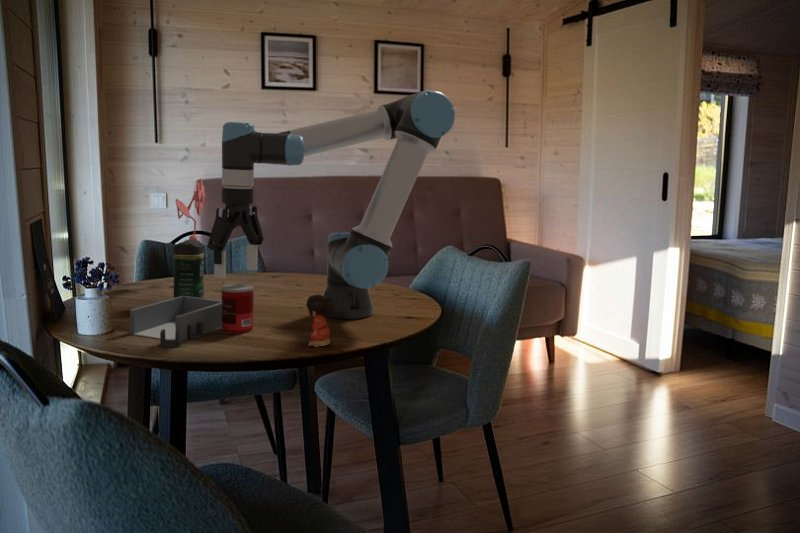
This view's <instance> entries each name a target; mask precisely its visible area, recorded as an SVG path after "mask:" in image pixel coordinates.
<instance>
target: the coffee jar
mask: <svg viewBox="0 0 800 533" xmlns="http://www.w3.org/2000/svg"><path fill="white" fill-rule="evenodd" d="M204 247H205V245H204V243H202V242H201V241H200V240H198V239H197V240H189V239H185V240H184V241H182V242H178V243H177V244H175V245H173V298H176V297H179V296H190V297H198V298H205V286H204V283H205V280H204V277H205V276H204V272H205V271H204V270H205V269H204V267H205V266H204V265H205V264H204V262H205V261H204V258H205V248H204Z"/></svg>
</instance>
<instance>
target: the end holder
mask: <svg viewBox="0 0 800 533" xmlns="http://www.w3.org/2000/svg"><path fill="white" fill-rule="evenodd" d="M197 322H202V323H204V334H206V333H209V332H212V331H215V330H218V329H220V328H222V300H220V299H219V300H218V299H210V298H206V297H204V298H198V297H190V296H179V297H176V298H174V297H172V298H169V299H165V300H161V301H158V302H157V301H156V302H153V303H150V304H147V305H141V306H139V307H135V308H130V309H129V324H130V325H129V328H130V332H129V333H130V335H132V336H138V337H139V336H140V337H143V338H152V339H157V340H158V339H159V340H160V332H161V330H162V329H165V340H175V332H176V329H180V343H181V342H182V343H183V342H185V341H187V340H188V325H193V334H195V333H197ZM188 341H189V340H188Z"/></svg>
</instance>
